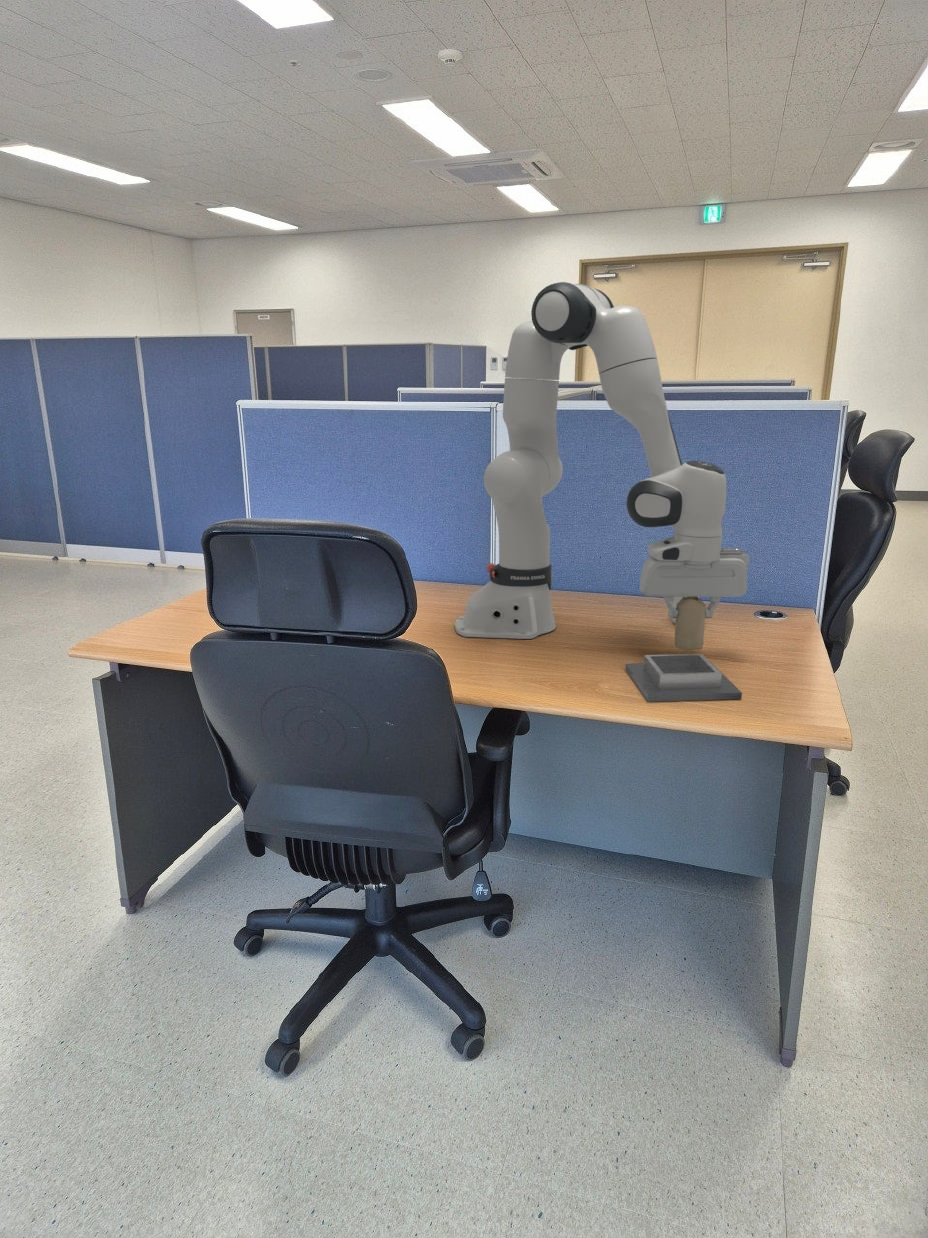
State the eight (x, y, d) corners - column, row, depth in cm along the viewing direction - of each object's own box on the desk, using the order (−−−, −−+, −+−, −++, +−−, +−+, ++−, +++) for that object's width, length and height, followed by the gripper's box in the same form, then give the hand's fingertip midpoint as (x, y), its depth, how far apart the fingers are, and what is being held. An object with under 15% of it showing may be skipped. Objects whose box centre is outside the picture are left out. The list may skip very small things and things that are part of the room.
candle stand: (647, 702, 132) (648, 681, 131) (625, 669, 147) (626, 650, 146) (741, 699, 132) (743, 678, 131) (709, 667, 148) (711, 648, 147)
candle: (698, 652, 152) (701, 602, 149) (670, 648, 154) (673, 598, 152) (706, 644, 156) (709, 596, 153) (678, 640, 159) (681, 592, 156)
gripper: (744, 544, 153) (736, 612, 157) (640, 544, 152) (635, 612, 156) (756, 551, 147) (748, 622, 151) (648, 551, 146) (643, 622, 150)
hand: (689, 617), depth 154 cm, fingers closed on candle, 5 cm apart
